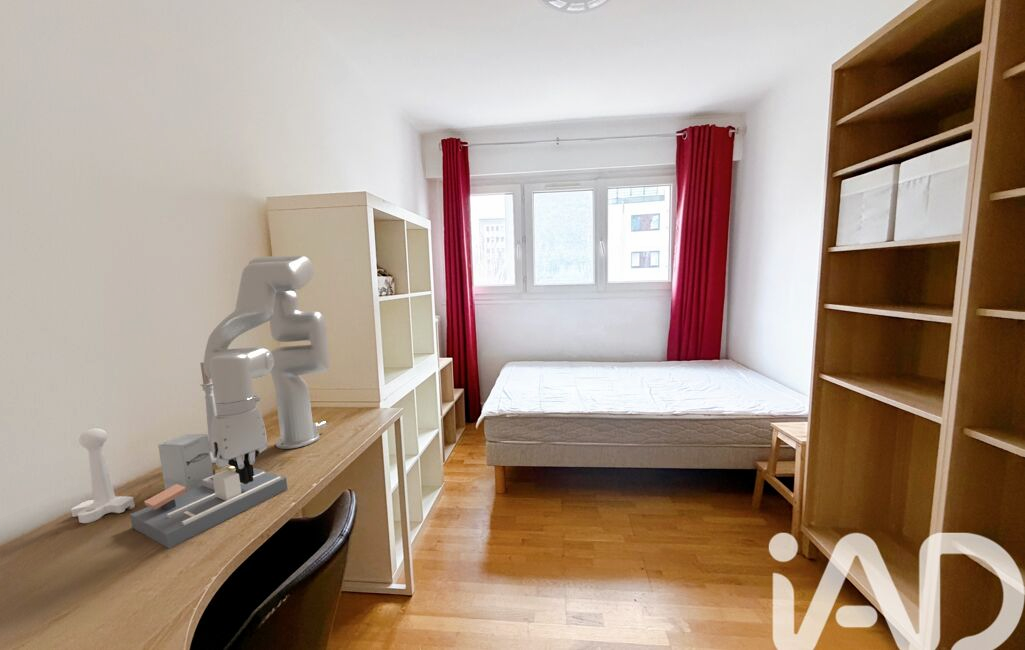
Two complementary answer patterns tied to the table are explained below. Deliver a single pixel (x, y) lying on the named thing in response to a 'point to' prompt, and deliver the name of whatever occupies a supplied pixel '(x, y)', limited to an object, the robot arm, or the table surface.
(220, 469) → the push button
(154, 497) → the rocker switch
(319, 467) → the table surface
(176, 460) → the supplement box
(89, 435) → the joystick
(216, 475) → the white slider block
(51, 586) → the table surface
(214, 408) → the candlestick
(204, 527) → the control panel
